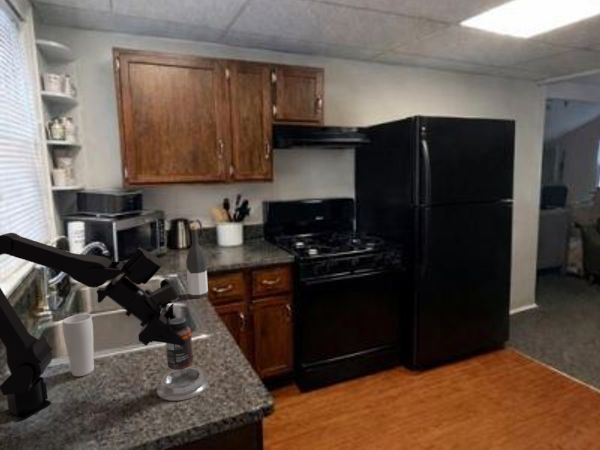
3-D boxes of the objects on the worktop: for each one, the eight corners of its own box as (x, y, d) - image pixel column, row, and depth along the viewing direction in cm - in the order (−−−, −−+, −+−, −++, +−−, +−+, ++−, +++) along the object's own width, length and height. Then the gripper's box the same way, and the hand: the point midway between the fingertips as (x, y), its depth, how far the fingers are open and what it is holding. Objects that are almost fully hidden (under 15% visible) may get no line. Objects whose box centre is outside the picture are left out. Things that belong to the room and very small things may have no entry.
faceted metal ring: (186, 405, 87) (185, 395, 87) (146, 394, 92) (145, 385, 92) (217, 379, 98) (217, 369, 98) (180, 370, 103) (179, 361, 102)
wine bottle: (209, 296, 163) (205, 226, 159) (189, 299, 160) (184, 227, 156) (206, 291, 170) (202, 223, 166) (187, 294, 167) (182, 225, 163)
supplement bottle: (186, 356, 98) (183, 313, 97) (197, 364, 94) (195, 320, 92) (163, 364, 94) (160, 320, 93) (174, 373, 90) (170, 327, 88)
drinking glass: (91, 363, 108) (85, 311, 106) (102, 370, 104) (96, 317, 102) (64, 373, 103) (57, 319, 101) (74, 381, 99) (68, 325, 96)
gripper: (151, 283, 81) (207, 328, 85) (161, 263, 99) (207, 301, 103) (113, 323, 80) (172, 366, 84) (130, 295, 98) (178, 332, 102)
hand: (184, 338), depth 94 cm, fingers closed on supplement bottle, 6 cm apart
